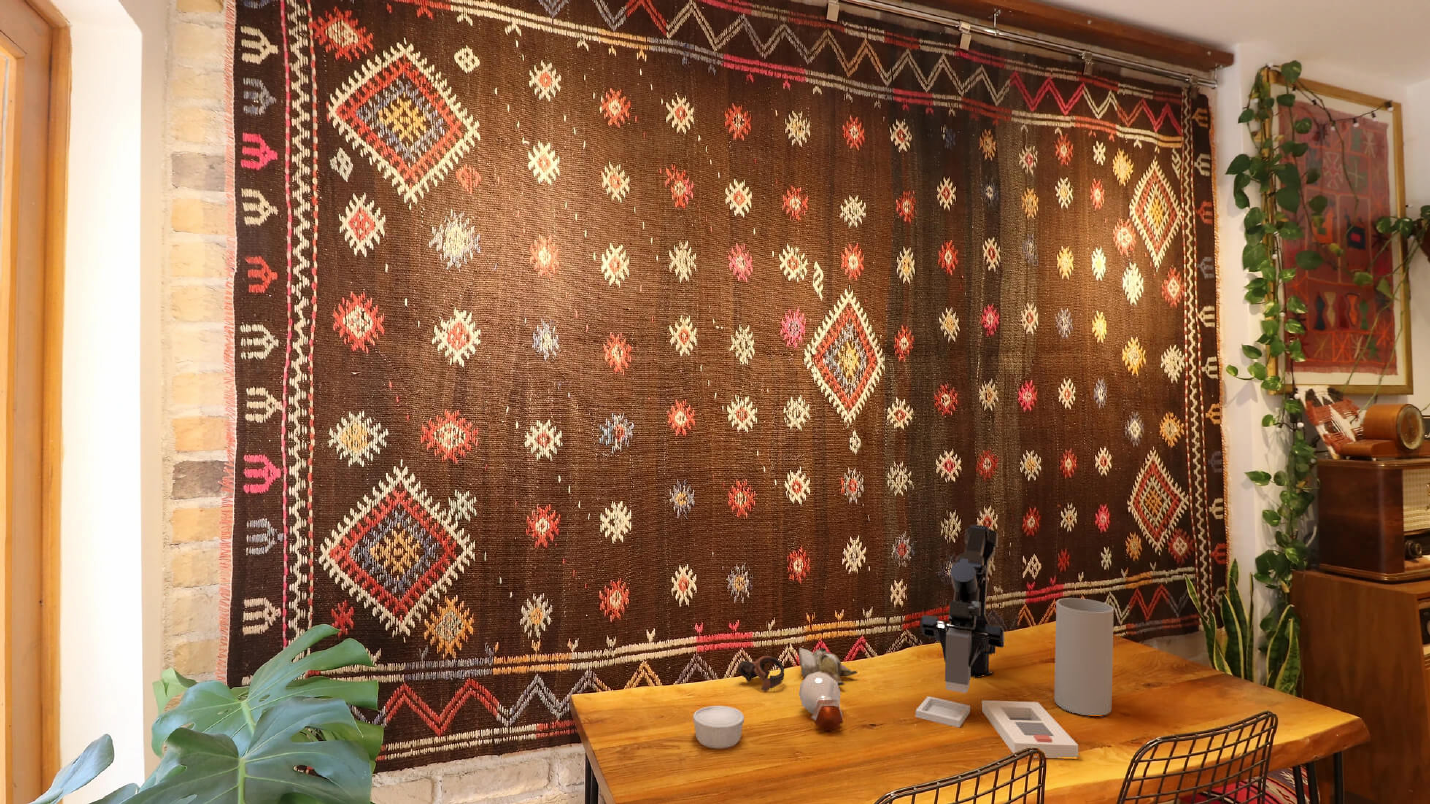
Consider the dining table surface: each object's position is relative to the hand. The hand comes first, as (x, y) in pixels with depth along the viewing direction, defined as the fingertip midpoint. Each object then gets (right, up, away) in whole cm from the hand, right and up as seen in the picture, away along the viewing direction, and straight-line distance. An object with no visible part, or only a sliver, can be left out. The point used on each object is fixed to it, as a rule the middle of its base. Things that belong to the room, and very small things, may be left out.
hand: (957, 663), depth 174 cm
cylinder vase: (+34, -14, +10) cm, 38 cm away
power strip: (+14, -14, -6) cm, 20 cm away
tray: (-2, -13, +3) cm, 14 cm away
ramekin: (-55, -13, -10) cm, 58 cm away
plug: (0, -6, +1) cm, 6 cm away
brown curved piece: (-44, -13, +21) cm, 51 cm away
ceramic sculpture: (-27, -13, +25) cm, 39 cm away
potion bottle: (-31, -13, +1) cm, 34 cm away
